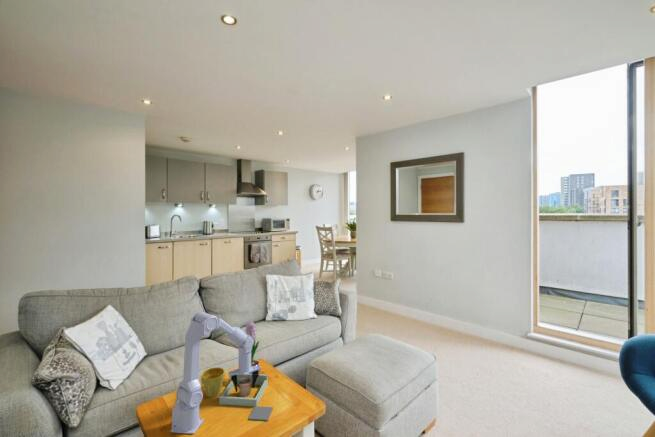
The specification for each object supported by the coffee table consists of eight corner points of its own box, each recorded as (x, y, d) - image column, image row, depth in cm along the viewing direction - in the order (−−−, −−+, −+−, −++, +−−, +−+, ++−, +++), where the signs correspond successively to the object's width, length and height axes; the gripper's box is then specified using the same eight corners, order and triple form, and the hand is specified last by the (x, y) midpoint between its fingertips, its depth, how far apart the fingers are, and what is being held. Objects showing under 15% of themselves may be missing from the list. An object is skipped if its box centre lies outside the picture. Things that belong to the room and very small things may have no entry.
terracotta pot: (236, 397, 137) (236, 384, 137) (241, 389, 143) (241, 377, 143) (248, 398, 136) (248, 385, 136) (252, 390, 142) (252, 378, 142)
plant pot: (219, 400, 135) (219, 378, 134) (197, 399, 135) (197, 378, 135) (228, 387, 145) (228, 367, 145) (207, 386, 145) (207, 366, 145)
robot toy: (196, 398, 137) (196, 393, 137) (185, 416, 125) (185, 410, 125) (180, 398, 137) (180, 393, 137) (167, 416, 125) (167, 410, 125)
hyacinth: (262, 371, 159) (263, 316, 159) (256, 382, 149) (256, 323, 149) (247, 370, 160) (247, 315, 160) (239, 381, 150) (239, 322, 150)
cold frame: (219, 404, 132) (219, 393, 132) (234, 382, 149) (234, 372, 149) (256, 406, 130) (256, 395, 130) (267, 384, 147) (267, 374, 147)
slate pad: (248, 419, 122) (248, 418, 122) (255, 407, 130) (255, 406, 130) (267, 421, 121) (267, 419, 121) (272, 408, 129) (272, 407, 129)
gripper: (229, 367, 133) (229, 397, 133) (262, 361, 139) (262, 389, 139) (228, 360, 139) (228, 389, 139) (259, 354, 145) (259, 382, 145)
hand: (244, 388), depth 140 cm, fingers open, 7 cm apart
